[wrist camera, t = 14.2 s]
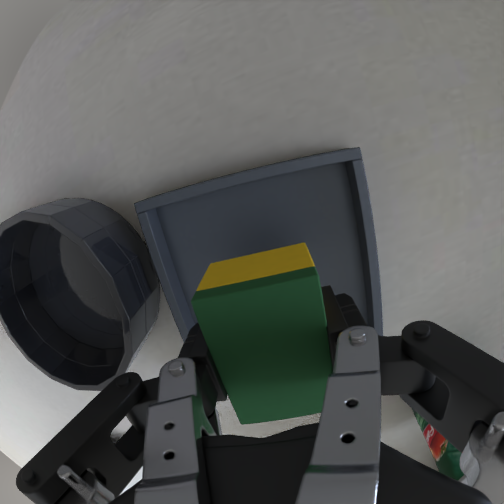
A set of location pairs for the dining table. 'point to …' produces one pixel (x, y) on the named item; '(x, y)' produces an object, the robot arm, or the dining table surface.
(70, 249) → the black bowl
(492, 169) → the dining table surface
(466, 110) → the dining table surface
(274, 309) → the sponge
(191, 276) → the sponge dish
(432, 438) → the canned tomato
